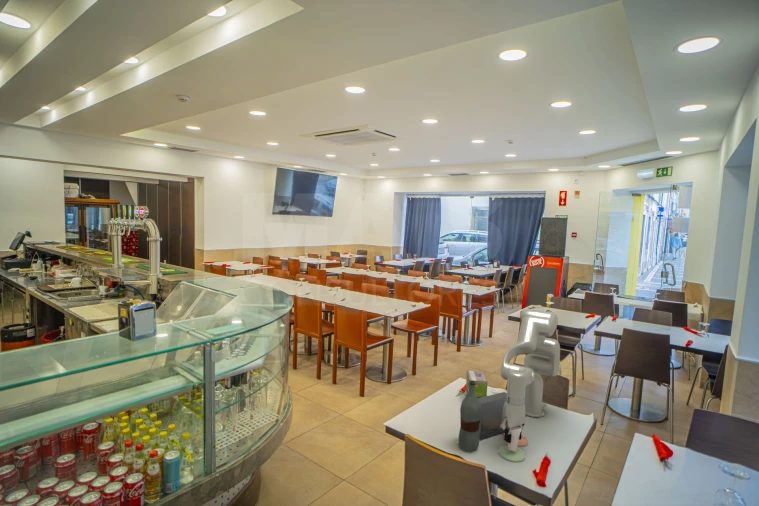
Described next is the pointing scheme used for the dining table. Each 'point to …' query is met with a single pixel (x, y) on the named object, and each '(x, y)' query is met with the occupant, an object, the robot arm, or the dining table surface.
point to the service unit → (491, 415)
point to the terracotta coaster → (521, 441)
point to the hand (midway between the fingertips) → (512, 439)
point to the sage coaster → (511, 454)
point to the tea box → (477, 383)
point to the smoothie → (514, 438)
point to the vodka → (470, 421)
